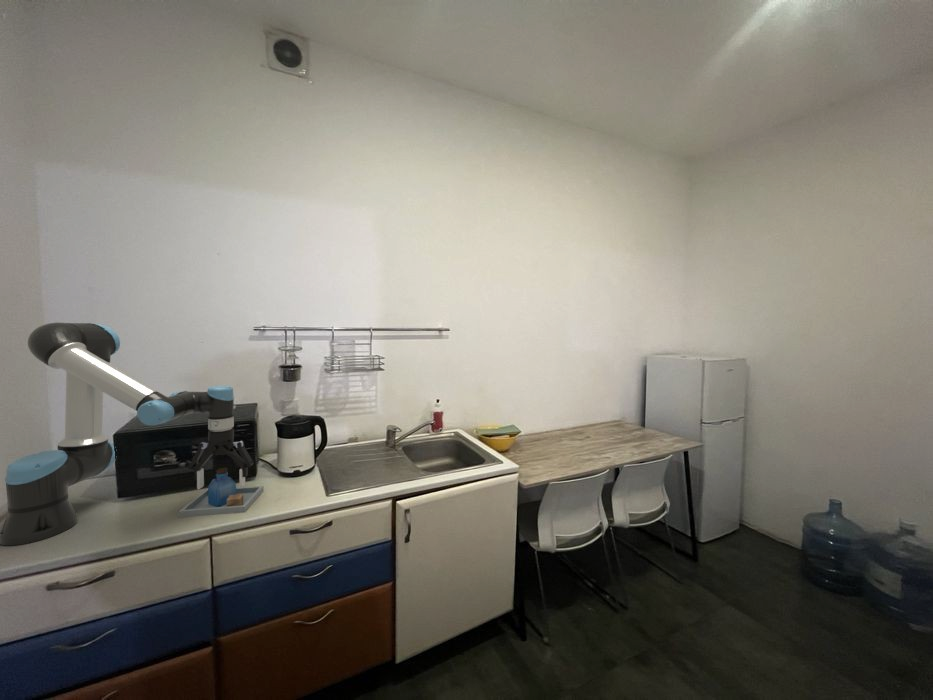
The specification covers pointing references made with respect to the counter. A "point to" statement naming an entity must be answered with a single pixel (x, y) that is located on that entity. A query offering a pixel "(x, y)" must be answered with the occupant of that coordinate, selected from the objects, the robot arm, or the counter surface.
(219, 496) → the perfume bottle
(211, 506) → the tray
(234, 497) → the walnut block
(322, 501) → the counter surface
